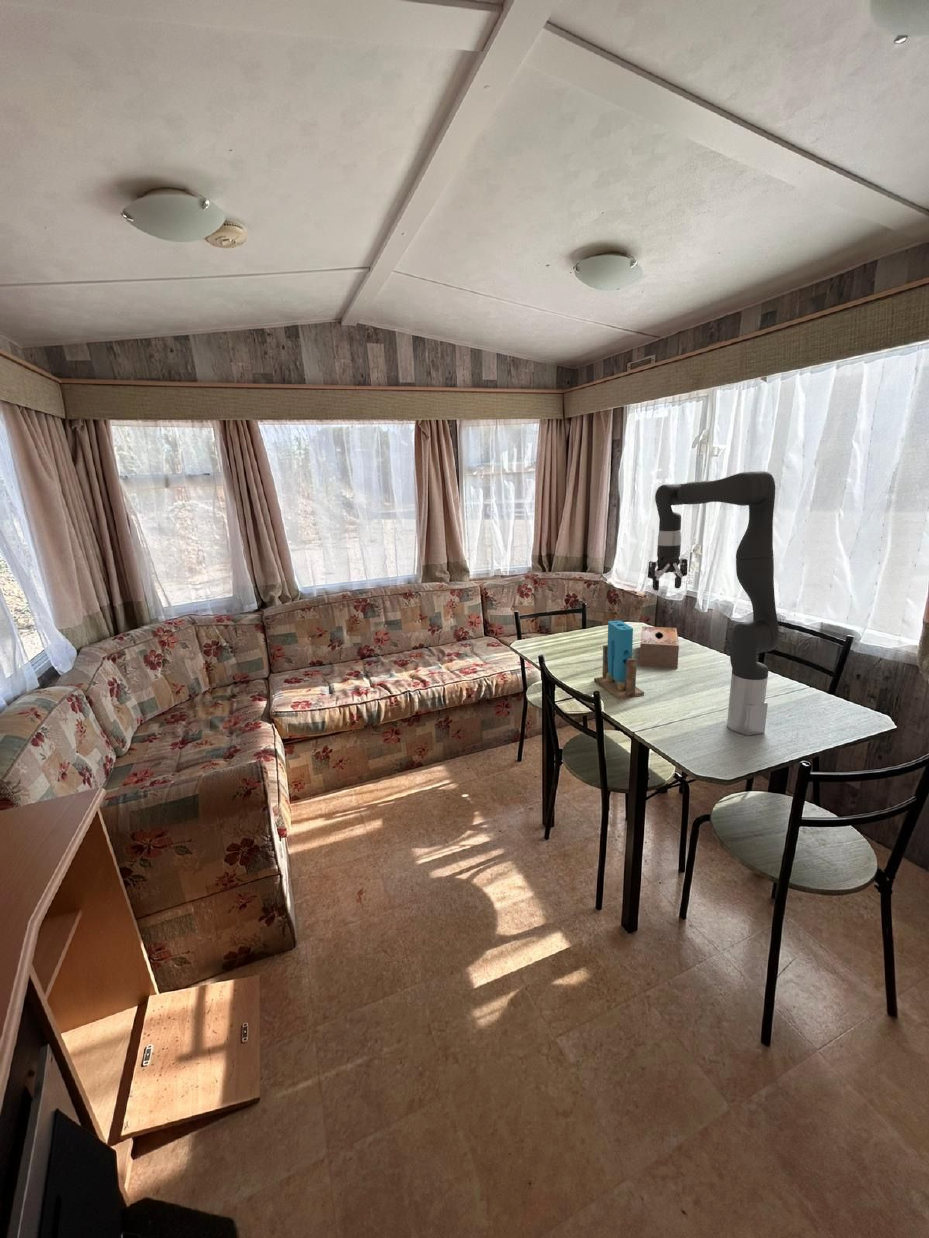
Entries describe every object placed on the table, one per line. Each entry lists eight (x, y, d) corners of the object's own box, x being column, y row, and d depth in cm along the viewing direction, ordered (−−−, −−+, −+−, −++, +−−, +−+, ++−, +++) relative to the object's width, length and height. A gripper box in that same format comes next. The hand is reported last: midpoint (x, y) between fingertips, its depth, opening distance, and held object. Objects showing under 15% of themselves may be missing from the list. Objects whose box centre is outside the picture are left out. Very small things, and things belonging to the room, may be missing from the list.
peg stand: (617, 677, 192) (618, 643, 189) (643, 695, 175) (645, 657, 172) (594, 680, 190) (594, 646, 187) (618, 699, 173) (619, 661, 170)
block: (632, 682, 176) (634, 629, 171) (618, 683, 176) (620, 630, 170) (618, 670, 187) (620, 620, 182) (606, 672, 187) (607, 621, 182)
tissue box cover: (641, 647, 226) (642, 626, 224) (675, 649, 221) (676, 628, 219) (639, 666, 203) (640, 643, 201) (677, 669, 198) (678, 645, 196)
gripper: (657, 546, 166) (655, 593, 170) (694, 542, 169) (691, 589, 173) (644, 544, 173) (642, 589, 177) (680, 541, 176) (677, 585, 180)
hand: (666, 589), depth 175 cm, fingers open, 8 cm apart
